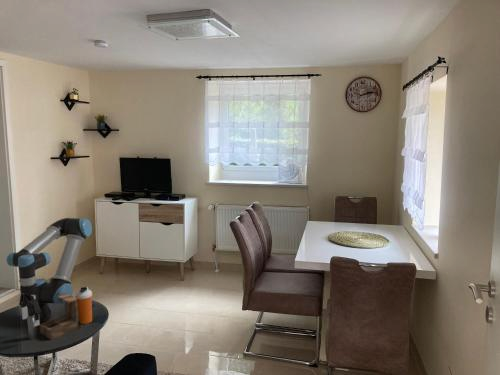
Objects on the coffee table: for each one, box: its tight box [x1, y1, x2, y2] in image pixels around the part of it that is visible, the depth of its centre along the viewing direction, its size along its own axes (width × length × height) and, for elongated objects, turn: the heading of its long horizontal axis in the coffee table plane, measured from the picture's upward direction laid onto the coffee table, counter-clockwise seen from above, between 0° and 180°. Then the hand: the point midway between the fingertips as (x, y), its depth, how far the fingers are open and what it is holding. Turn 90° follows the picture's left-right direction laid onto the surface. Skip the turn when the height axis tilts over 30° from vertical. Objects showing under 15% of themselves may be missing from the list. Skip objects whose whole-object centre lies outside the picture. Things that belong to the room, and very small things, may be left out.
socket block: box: [39, 293, 80, 341], centre depth 228 cm, size 12×16×18 cm
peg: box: [26, 315, 38, 341], centre depth 221 cm, size 4×4×12 cm
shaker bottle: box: [75, 286, 93, 325], centre depth 239 cm, size 9×9×20 cm
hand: (30, 322), depth 220 cm, fingers open, 13 cm apart
